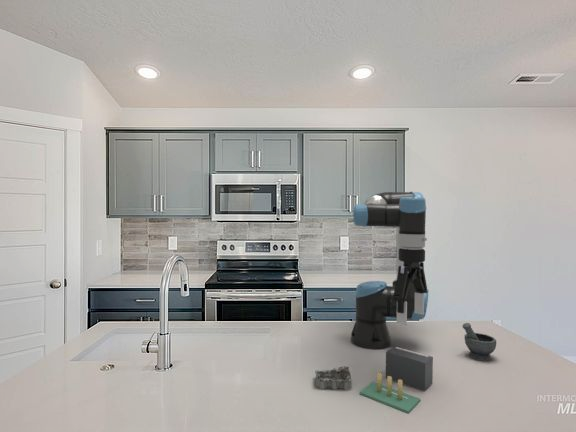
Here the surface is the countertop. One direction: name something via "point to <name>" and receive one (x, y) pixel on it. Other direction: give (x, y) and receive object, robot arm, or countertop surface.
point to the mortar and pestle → (479, 343)
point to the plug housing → (409, 367)
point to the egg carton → (337, 375)
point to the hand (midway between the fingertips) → (410, 318)
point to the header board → (390, 394)
